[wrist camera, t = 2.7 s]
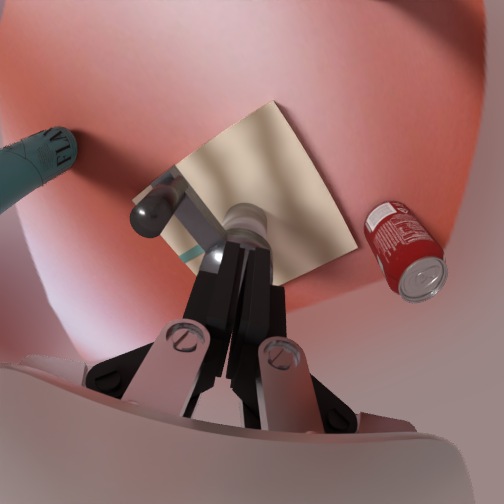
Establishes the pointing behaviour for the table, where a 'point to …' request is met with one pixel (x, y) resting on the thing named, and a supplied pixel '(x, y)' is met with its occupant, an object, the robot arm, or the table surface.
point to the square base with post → (263, 195)
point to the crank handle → (191, 220)
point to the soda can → (405, 252)
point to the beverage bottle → (34, 163)
